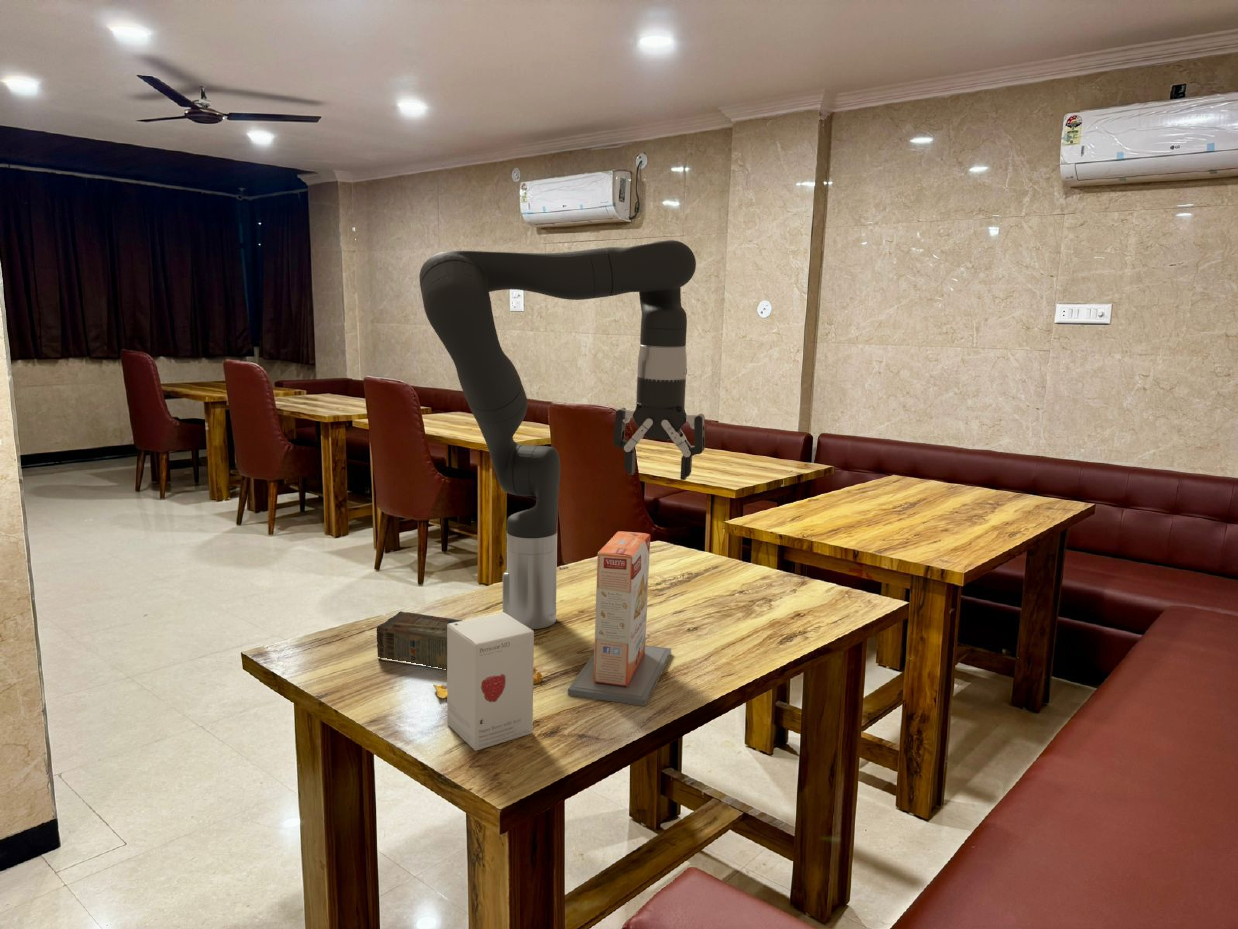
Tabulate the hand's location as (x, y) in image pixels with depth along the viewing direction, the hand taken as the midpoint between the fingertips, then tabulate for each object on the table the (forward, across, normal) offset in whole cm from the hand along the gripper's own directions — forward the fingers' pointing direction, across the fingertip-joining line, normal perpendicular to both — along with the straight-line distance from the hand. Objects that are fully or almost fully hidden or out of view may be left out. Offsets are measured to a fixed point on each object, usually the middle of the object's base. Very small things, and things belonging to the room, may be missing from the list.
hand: (657, 476), depth 129 cm
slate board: (+31, -3, -7) cm, 32 cm away
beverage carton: (+32, -33, -11) cm, 48 cm away
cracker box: (+31, -3, -7) cm, 31 cm away
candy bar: (+32, -21, -18) cm, 42 cm away
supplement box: (+31, -16, -30) cm, 45 cm away
